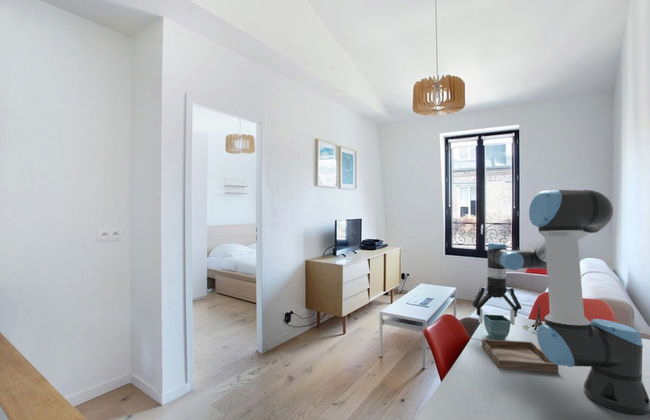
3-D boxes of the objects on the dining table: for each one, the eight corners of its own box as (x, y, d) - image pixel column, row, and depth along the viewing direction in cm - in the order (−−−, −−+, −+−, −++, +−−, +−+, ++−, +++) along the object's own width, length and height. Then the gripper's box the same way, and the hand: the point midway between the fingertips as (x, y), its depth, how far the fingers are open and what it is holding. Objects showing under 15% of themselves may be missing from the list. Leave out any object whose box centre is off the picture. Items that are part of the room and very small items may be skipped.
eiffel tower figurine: (537, 324, 166) (537, 297, 166) (558, 330, 157) (558, 303, 157) (517, 328, 160) (517, 301, 160) (538, 335, 150) (538, 307, 150)
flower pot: (502, 333, 152) (502, 314, 151) (511, 341, 143) (511, 321, 143) (482, 333, 152) (482, 314, 152) (490, 340, 144) (490, 320, 144)
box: (558, 372, 116) (558, 364, 116) (499, 368, 119) (499, 360, 119) (531, 349, 135) (531, 341, 135) (481, 346, 138) (481, 339, 138)
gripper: (522, 275, 149) (522, 321, 150) (465, 274, 153) (465, 318, 153) (530, 279, 142) (529, 327, 142) (470, 277, 146) (469, 324, 146)
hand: (496, 323), depth 148 cm, fingers open, 13 cm apart
